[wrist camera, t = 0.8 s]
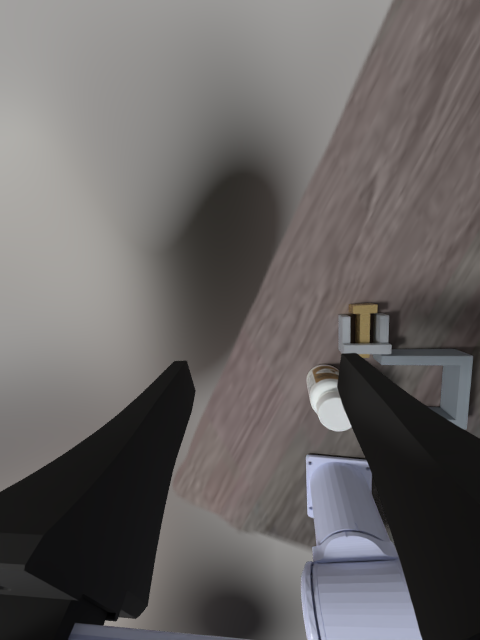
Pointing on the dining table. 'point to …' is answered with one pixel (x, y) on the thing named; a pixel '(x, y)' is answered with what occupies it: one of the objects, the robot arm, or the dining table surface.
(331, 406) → the pill bottle
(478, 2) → the dining table surface
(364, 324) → the lock bar
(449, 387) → the dock bay
